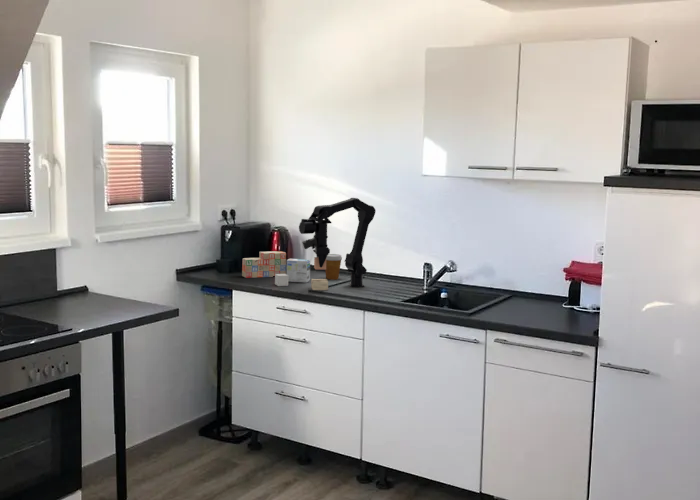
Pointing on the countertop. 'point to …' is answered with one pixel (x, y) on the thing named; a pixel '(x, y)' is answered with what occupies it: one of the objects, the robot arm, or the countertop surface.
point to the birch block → (319, 284)
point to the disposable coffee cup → (333, 266)
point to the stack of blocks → (264, 265)
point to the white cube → (281, 279)
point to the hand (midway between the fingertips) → (320, 266)
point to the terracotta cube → (316, 264)
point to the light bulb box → (298, 270)
